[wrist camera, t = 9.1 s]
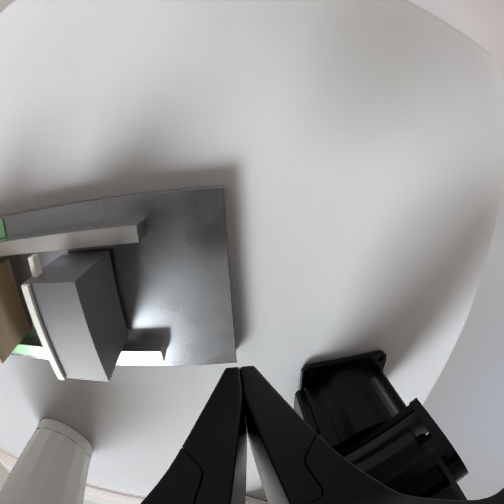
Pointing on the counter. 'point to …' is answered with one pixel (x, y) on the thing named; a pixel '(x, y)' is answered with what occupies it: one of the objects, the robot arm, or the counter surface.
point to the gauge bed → (142, 269)
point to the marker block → (10, 312)
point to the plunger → (77, 314)
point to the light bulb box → (254, 501)
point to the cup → (50, 467)
